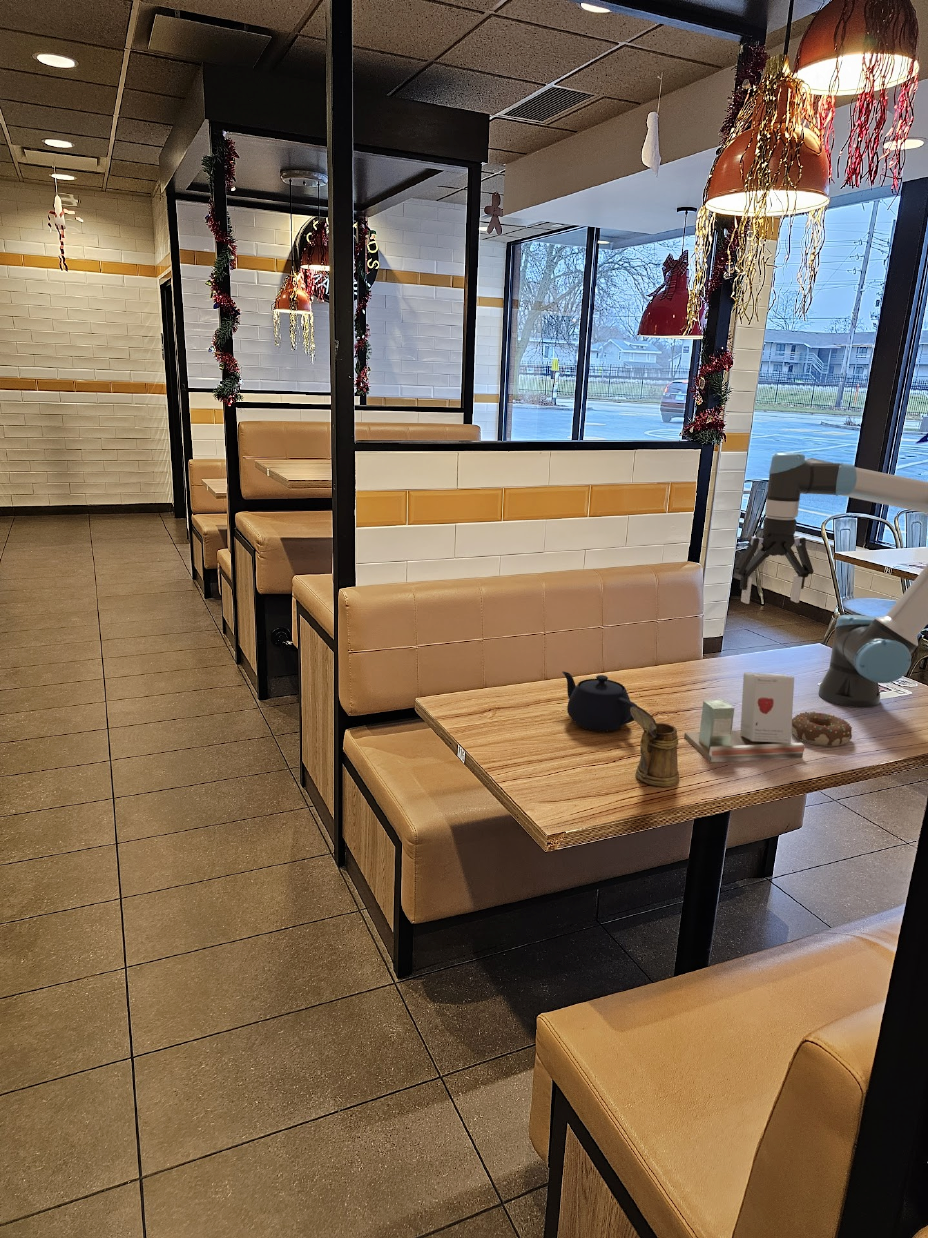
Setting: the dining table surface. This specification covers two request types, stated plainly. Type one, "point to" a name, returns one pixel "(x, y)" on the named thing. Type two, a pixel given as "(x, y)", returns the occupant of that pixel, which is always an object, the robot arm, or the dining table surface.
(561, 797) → the dining table surface
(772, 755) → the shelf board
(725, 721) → the tea tin
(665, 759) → the wooden mug
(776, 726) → the supplement box
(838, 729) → the donut
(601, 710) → the teapot
